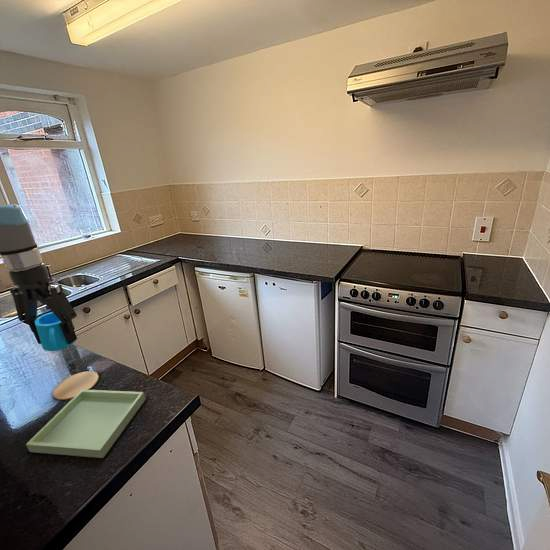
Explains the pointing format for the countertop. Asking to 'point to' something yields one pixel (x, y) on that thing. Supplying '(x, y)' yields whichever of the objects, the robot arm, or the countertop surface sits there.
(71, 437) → the tray
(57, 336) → the mug
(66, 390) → the coaster
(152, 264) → the countertop surface
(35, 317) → the robot arm
